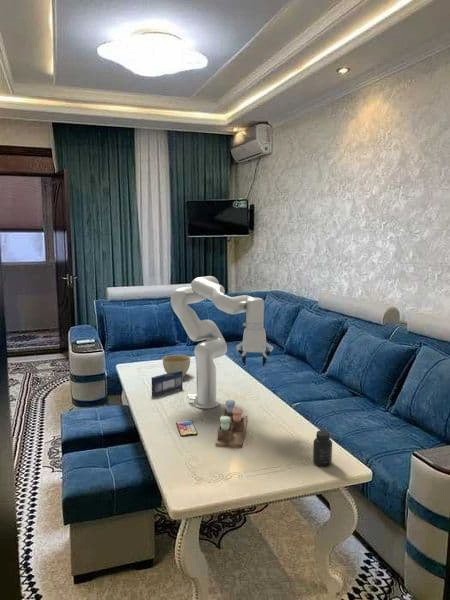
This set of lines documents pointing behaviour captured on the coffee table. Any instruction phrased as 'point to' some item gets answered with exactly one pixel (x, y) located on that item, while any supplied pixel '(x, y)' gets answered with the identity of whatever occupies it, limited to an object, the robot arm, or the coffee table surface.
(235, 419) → the button terracotta
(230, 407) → the button slate
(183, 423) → the smartphone
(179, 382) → the vhs cassette tape
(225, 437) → the button board
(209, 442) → the coffee table surface
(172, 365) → the planter bowl
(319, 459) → the supplement bottle
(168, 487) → the coffee table surface
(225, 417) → the button sage
